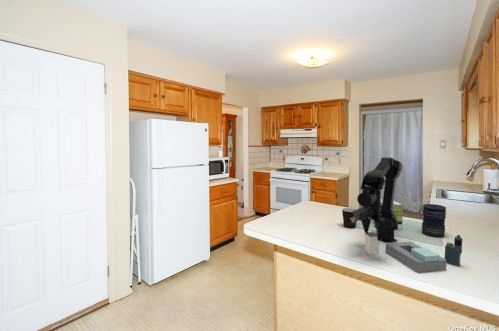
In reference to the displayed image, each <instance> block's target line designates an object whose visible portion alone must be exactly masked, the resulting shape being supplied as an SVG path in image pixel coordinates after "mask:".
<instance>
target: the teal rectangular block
mask: <svg viewBox="0 0 499 331" xmlns="http://www.w3.org/2000/svg"><path fill="white" fill-rule="evenodd" d="M411 254H413V255H414V256H416V257H418V258H420V259H422V260H423V261H425V262H427V261H438V260H440V257H441V256H440V254H438V253H437V252H434V251H432V250H430V249H428V248H427V247H422V248H414V249H411Z"/></svg>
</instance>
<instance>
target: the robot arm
mask: <svg viewBox="0 0 499 331" xmlns="http://www.w3.org/2000/svg"><path fill="white" fill-rule="evenodd" d="M402 171H403V164H402V162H401V161H399V160H397V159H395V158H393V157H387V156H386V157H381V158H380V161H379V163H378V164H377V165H376V166H375V168H374V170H370V171H367V173H366V174H365V175H364V176H363V178H362V182H361V185H360V190H362V192H361V193H360V194H358V195H357V198H356V200H357V203H358V204H359V206H361V207H359V208H356V209H357V210H354V211H353V214H354V217H355V219H358V221H360V222H361V225H362V227H363V231H364V234H365V233H366V232H369V229H370V225H371V222H372V220H374V222H373V227H374V228H375V229H376V233H377V240H378V241H379V242H380V241H382V242H384V243H393V242H397V239H395V231H399V230H398V222H397V220H396V218H395V217H396V214H395V212H394V211H393V201H395V192H396V191H395V190H396V182H397V179H398V178H399V177H400V175H401V172H402ZM382 190H383V197H382V195H381V193H382V192H381V191H382ZM381 197H382V198H381ZM381 199H383V203H382V205H380V204H381ZM380 208H381V209H380Z"/></svg>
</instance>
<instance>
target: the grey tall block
mask: <svg viewBox="0 0 499 331" xmlns="http://www.w3.org/2000/svg"><path fill="white" fill-rule="evenodd" d="M364 252H366V253H367V254H369V255H379V253H380V241H378V240H377V232H375V231H368V232H366V233H365V232H364Z"/></svg>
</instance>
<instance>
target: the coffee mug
mask: <svg viewBox="0 0 499 331" xmlns="http://www.w3.org/2000/svg"><path fill="white" fill-rule="evenodd" d="M357 209H358V208H354V207H353V208H352V207H343V208H341V212H342V221H343V223H342V224H343V227H344V228H346V229H353V230H354V229H356V227H357V222H358V221H359V220H358V219H355V217H354V214H353V211H354V210H357Z"/></svg>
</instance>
